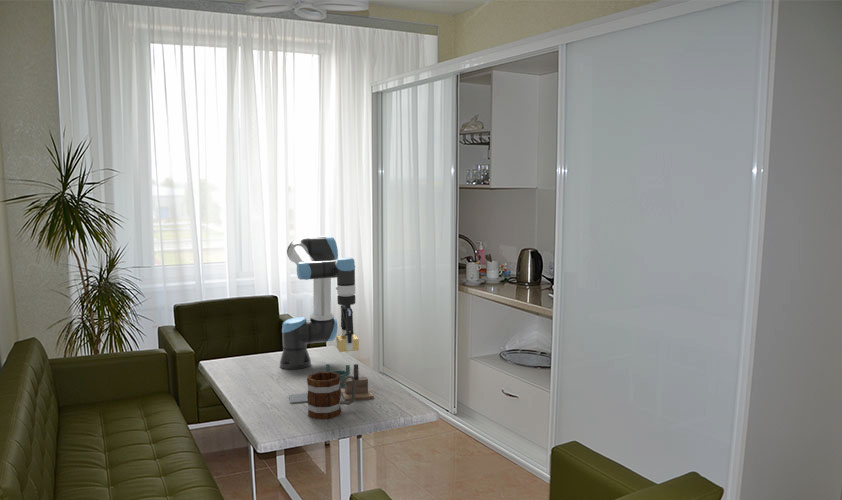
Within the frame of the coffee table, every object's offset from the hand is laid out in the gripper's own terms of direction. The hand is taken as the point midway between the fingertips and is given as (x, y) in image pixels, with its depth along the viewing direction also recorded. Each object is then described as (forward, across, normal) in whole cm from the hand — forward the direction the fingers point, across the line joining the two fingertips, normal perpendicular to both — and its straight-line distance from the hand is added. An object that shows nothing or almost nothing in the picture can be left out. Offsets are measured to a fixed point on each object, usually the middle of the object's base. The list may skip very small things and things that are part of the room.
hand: (347, 347), depth 280 cm
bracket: (+21, -17, -1) cm, 27 cm away
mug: (+21, +18, -10) cm, 30 cm away
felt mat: (+21, -2, -20) cm, 29 cm away
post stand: (+21, +1, +3) cm, 21 cm away
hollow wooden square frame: (+1, 0, 0) cm, 1 cm away
